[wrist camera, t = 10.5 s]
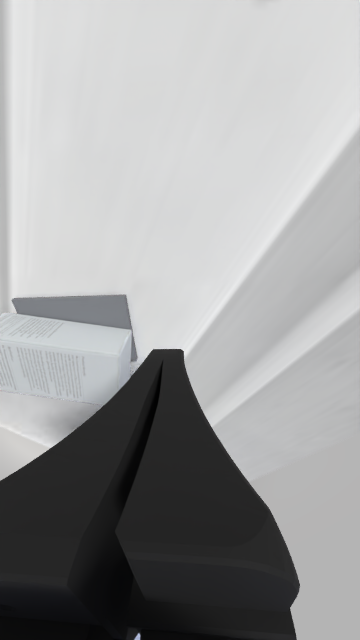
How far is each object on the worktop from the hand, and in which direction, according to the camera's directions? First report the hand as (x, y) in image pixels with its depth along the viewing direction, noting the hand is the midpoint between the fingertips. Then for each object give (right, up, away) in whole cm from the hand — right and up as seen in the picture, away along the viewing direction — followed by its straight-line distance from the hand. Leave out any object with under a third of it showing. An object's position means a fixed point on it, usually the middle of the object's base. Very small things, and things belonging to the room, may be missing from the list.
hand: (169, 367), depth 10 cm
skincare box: (-16, 0, +10) cm, 19 cm away
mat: (-9, +1, +12) cm, 15 cm away
